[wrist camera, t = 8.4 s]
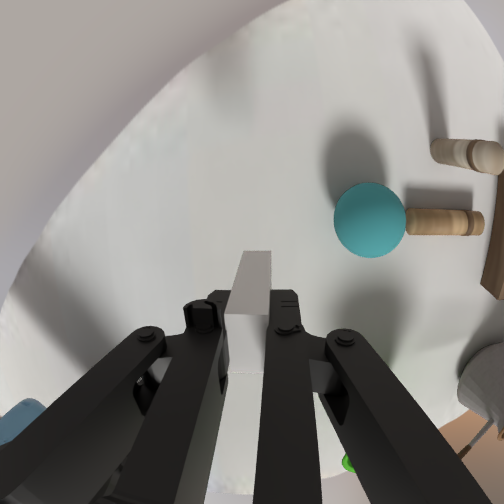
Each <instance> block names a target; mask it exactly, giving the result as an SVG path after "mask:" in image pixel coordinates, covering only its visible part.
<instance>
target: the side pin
mask: <svg viewBox="0 0 504 504" xmlns="http://www.w3.org/2000/svg"><path fill="white" fill-rule="evenodd" d="M430 152H431V156H432V158H433V159H434V160H435V161H436V162H437V163H440V164H446V165H451V166H456V167H461V168H466V169H470V170H474V171H477V172H481V173H488V174H492V175H499V174H500V173H501V172H502V171H503V169H504V151H503V148H502V147H501V145H500V144H499V143H497V142H494V141H485V140H477V139H475V140H465V139H435V140H434V141H433V142H432V144H431V147H430Z"/></svg>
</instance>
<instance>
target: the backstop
mask: <svg viewBox="0 0 504 504" xmlns="http://www.w3.org/2000/svg"><path fill="white" fill-rule="evenodd" d="M480 284H481V285H482V286H483V287H484V288H485V289H486V290H487V291H489V292H490V293H491V294H492V295H493V296H494V297H495V298H496V299H497V300H504V169H503V171H502V172H501V173H500V174H499V175H498V187H497V198H496V207H495V215H494V222H493V228H492V234H491V240H490V245H489V250H488V255H487V259H486V264H485V268H484V272H483V276H482V280H481V283H480Z"/></svg>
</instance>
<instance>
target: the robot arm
mask: <svg viewBox="0 0 504 504" xmlns="http://www.w3.org/2000/svg"><path fill="white" fill-rule="evenodd" d="M183 310H184V316H185V322H186V329H185V331H184V333H183V334H179V335H172V336H165V334H164V331H163V330H162V329H161V328H159V327H155V326H145V327H142V328H139V329H137V330H135V331H134V332H132V333H131V334H130V335H129V336H128V337H127V338H125V339H124V340H123V341H122V342H121V343H120V344H119V345H117V346H116V347H115V348H114V349H113V350H112V351H111V352H109V353H108V354H107V355H106V356H105V357H104V358H103V359H101V360H100V361H99V362H98V363H97V364H96V365H95V366H94V367H92V368H91V369H90V370H89V371H88V372H87V373H86V374H85V375H83V376H82V377H81V378H80V379H79V380H78V381H77V382H76V383H74V384H73V385H72V386H71V387H70V388H69V389H68V390H67V391H66V392H64V393H63V394H62V395H61V396H60V397H59V398H58V399H57V400H56V401H54V402H53V403H52V404H51V405H50V406H49V407H48V408H46V407H45V406H44V405H42V404H41V403H40V402H39V401H37V400H35V399H32V398H27V399H24V400H22V401H21V402H19V403H18V404H17V405H16V406H14V407H13V408H12V409H11V410H10V411H8V412H7V413H6V414H5V415H4V416H3V417H2V418H1V419H0V504H204V500H205V495H206V490H207V485H208V480H209V475H210V470H211V465H212V460H213V455H214V450H215V445H216V441H217V436H218V431H219V426H220V421H221V416H222V411H223V406H224V401H225V396H226V391H227V386H228V374H227V371H228V366H229V369H230V373H257V374H264V375H263V388H262V402H261V415H260V427H259V439H258V451H257V462H256V474H255V484H254V495H253V504H322V491H321V476H320V463H319V451H318V440H317V429H316V419H315V409H314V400H313V392H316V393H318V395H319V398H320V400H321V402H322V405H323V407H324V409H325V411H326V413H327V415H328V417H329V419H330V421H331V423H332V425H333V427H334V429H335V431H336V433H337V435H338V437H339V440H340V442H341V444H342V446H343V448H344V450H345V452H346V454H347V456H348V458H349V460H350V462H351V464H352V466H353V468H354V470H355V472H356V474H357V476H358V479H359V481H360V483H361V485H362V487H363V489H364V491H365V493H366V495H367V497H368V499H369V501H370V503H371V504H492V503H491V501H490V500H489V498H488V497H487V496H486V494H485V493H484V492H483V490H482V488H481V487H480V486H479V484H478V483H477V481H476V480H475V479H474V477H473V476H472V474H471V473H470V472H469V470H468V469H467V468H466V466H465V465H464V464H463V462H462V461H461V459H460V458H459V457H458V455H457V454H456V453H455V452H454V450H453V449H452V447H451V446H450V445H449V444H448V442H447V441H446V440H445V438H444V437H443V436H442V434H441V433H440V432H439V430H438V429H437V428H436V426H435V425H434V424H433V423H432V421H431V420H430V419H429V417H428V416H427V415H426V414H425V412H424V411H423V410H422V408H421V407H420V406H419V405H418V403H417V402H416V401H415V400H414V398H413V397H412V396H411V395H410V393H409V392H408V391H407V390H406V388H405V387H404V386H403V385H402V383H401V382H400V381H399V380H398V378H397V377H396V376H395V375H394V373H393V372H392V371H391V370H390V368H389V367H388V366H387V365H386V364H385V362H384V361H383V360H382V359H381V357H380V356H379V355H378V354H377V353H376V351H375V350H374V349H373V348H372V347H371V345H370V344H369V343H368V342H367V341H366V339H365V338H364V337H363V336H362V335H361V334H360V333H358V332H356V331H354V330H351V329H337V330H334V331H331V332H330V333H329V334H327V337H326V338H322V337H317V336H313V335H311V334H309V333H307V332H306V331H305V329H304V327H303V325H302V324H301V316H300V309H299V302H298V295H297V294H296V293H295V292H294V291H293V290H272V285H271V251H243V255H242V258H241V261H240V264H239V267H238V271H237V274H236V277H235V280H234V283H233V287H232V290H215V291H213V292H212V293H211V294H209V295H208V297H207V299H201V300H195V301H192V302H190V303H188V304H186V305H185V306H184V307H183ZM140 377H141V378H142V380H141V381H140V382H138V383H137V382H136V381H137V380H138V379H139V378H140Z"/></svg>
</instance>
